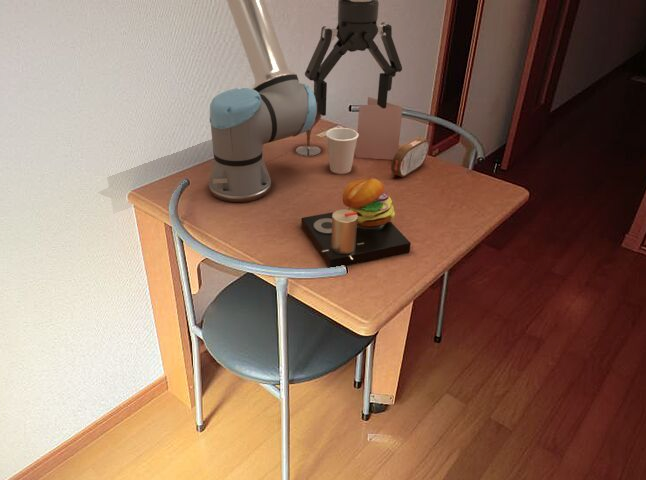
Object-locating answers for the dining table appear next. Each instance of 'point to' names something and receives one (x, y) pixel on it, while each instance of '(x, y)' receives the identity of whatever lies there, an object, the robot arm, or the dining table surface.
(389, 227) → the stove
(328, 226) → the burners
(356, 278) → the dining table surface
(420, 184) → the dining table surface
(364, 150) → the greeting card
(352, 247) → the stove knob
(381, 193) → the cheeseburger
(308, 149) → the wine glass
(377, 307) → the dining table surface
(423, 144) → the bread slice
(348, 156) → the dixie cup
